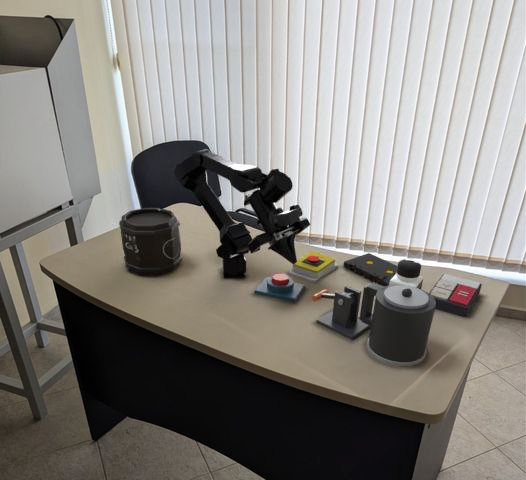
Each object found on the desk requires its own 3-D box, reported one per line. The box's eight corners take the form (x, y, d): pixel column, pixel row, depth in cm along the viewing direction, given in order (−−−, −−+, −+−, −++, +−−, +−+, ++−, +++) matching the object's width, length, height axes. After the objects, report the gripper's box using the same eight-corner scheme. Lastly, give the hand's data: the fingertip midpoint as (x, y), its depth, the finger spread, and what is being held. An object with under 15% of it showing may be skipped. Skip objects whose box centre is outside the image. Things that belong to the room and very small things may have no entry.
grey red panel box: (427, 293, 133) (443, 271, 144) (424, 307, 136) (440, 284, 146) (469, 305, 128) (483, 281, 139) (465, 319, 131) (479, 294, 141)
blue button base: (254, 294, 138) (254, 283, 137) (266, 281, 146) (266, 270, 144) (294, 303, 135) (295, 292, 133) (304, 289, 142) (305, 278, 140)
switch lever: (312, 302, 127) (311, 293, 126) (324, 296, 130) (323, 287, 129) (346, 306, 119) (345, 297, 119) (358, 299, 122) (357, 290, 122)
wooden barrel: (186, 252, 162) (183, 206, 154) (179, 277, 147) (176, 227, 138) (130, 252, 161) (124, 205, 153) (118, 277, 146) (111, 226, 138)
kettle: (343, 344, 119) (351, 283, 110) (375, 323, 127) (384, 264, 118) (406, 375, 109) (420, 310, 100) (435, 350, 117) (451, 288, 109)
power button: (270, 284, 137) (270, 278, 137) (275, 277, 141) (275, 272, 140) (284, 287, 136) (285, 281, 135) (290, 280, 140) (290, 275, 139)
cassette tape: (343, 267, 155) (343, 260, 154) (368, 258, 161) (369, 252, 160) (387, 289, 143) (388, 282, 142) (412, 278, 149) (414, 272, 148)
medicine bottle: (411, 310, 133) (419, 270, 126) (385, 303, 136) (392, 263, 130) (419, 299, 138) (427, 260, 132) (394, 292, 141) (401, 254, 135)
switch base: (315, 323, 126) (319, 290, 121) (337, 311, 132) (340, 278, 127) (351, 341, 120) (356, 306, 115) (372, 327, 125) (377, 293, 120)
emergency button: (288, 261, 148) (314, 245, 158) (288, 274, 150) (313, 257, 160) (315, 269, 143) (340, 252, 153) (314, 283, 145) (338, 265, 156)
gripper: (255, 205, 118) (287, 262, 118) (307, 187, 129) (336, 239, 129) (234, 226, 127) (263, 279, 127) (284, 208, 138) (311, 256, 138)
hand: (295, 263), depth 130 cm, fingers closed
